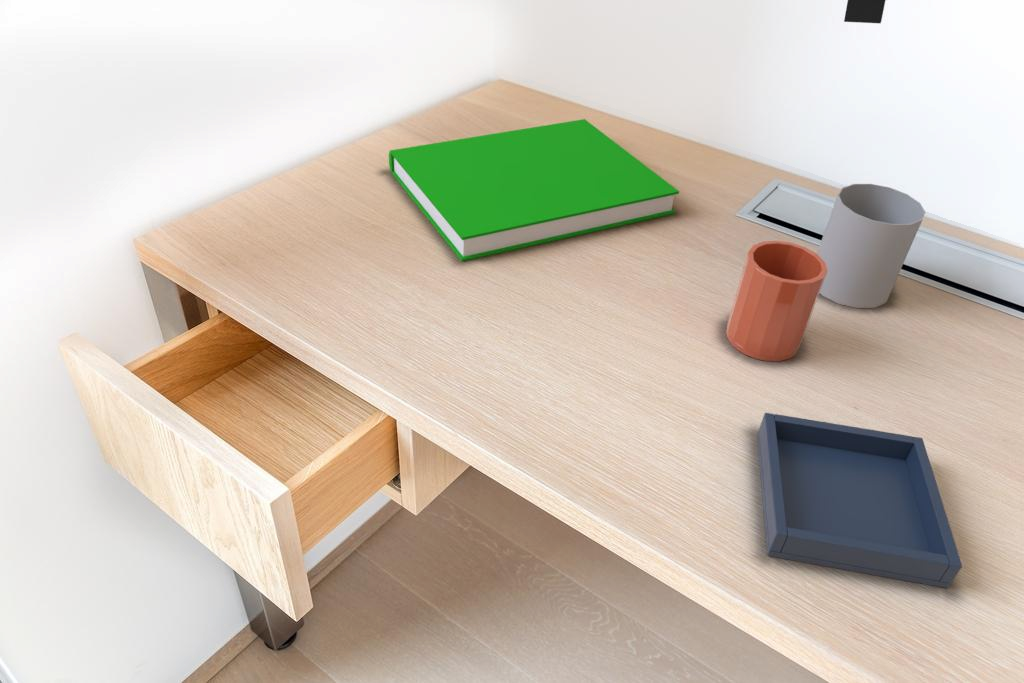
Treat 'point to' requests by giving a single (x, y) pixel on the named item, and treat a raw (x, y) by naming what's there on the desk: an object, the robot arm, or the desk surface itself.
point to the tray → (853, 501)
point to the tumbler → (775, 300)
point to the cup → (867, 243)
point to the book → (528, 187)
